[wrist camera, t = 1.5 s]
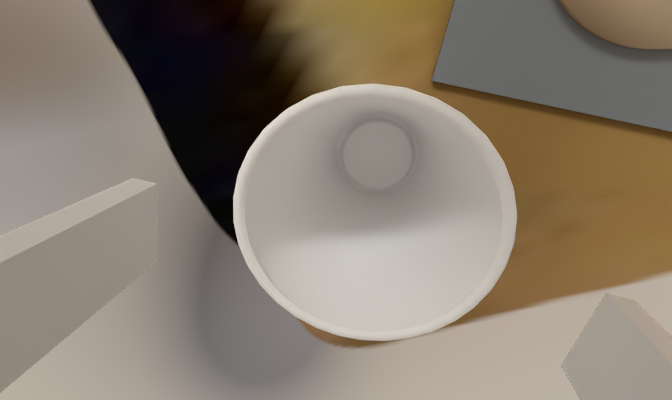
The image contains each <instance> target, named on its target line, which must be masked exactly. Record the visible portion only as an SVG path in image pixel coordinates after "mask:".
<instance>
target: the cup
mask: <svg viewBox="0 0 672 400" xmlns="http://www.w3.org/2000/svg"><path fill="white" fill-rule="evenodd" d="M233 218H234V226H235V231H236V236H237V240H238V245H239V247H240V249H241V252H242V254H243V256H244V259H245V261H246V263H247V266H248V267H249V269H250V270H251V272H252V273H253V275H254V276H255V278H256V279H257V281H258V282H259V284H260V285H261V287H262V288H263V289H264V290H265V291H266V292H267V293H268V294H269V295H270V296H271V297H272V298H273V299H274V300H275V301H276V302H277V303H278V304H279V305H281V306H282V307H283V308H285V309H286V310H287V311H289V312H290V313H291V314H292V315H294V316H295V317H297V318H299V319H301V320H302V321H304V322H306V323H308V324H310V325H312V326H314V327H315V328H318V329H321V330H324V331H327V332H329V333H332V334H335V335H338V336H343V337H348V338H353V339H358V340H372V341H390V340H399V339H408V338H412V337H416V336H419V335H423V334H426V333H430V332H433V331H435V330H437V329H440V328H442V327H444V326H446V325H448V324H450V323H452V322H454V321H456V320H457V319H459V318H460V317H462V316H463V315H464V314H466V313H467V312H469V311H470V310H471V309H473V308H474V307H475V306H476V305H477V304H478V303H479V302H480V301H481V300H482V299H483V298H484V297H485V296H486V295H487V294H488V293H489V292H490V291H491V290H492V288H493V287H494V285H495V284H496V282H497V280H498V279H499V277H500V276H501V274H502V272H503V271H504V269H505V268H506V265H507V262H508V259H509V256H510V254H511V251H512V248H513V245H514V241H515V233H516V224H517V209H516V201H515V193H514V187H513V185H512V182H511V179H510V177H509V174H508V171H507V168H506V166H505V163H504V161H503V159H502V158H501V156H500V155H499V153H498V152H497V150H496V149H495V147H494V146H493V144H492V143H491V141H490V140H489V138H488V137H487V136H486V135H485V134H484V133H483V132H482V131H481V130H480V129H479V128H478V127H477V126H476V125H475V124H474V123H473V122H472V121H471V120H469V119H468V118H467V117H466V116H465V115H464V114H463V113H461V112H459V111H458V110H456V109H454V108H453V107H451V106H449V105H448V104H446V103H444V102H443V101H441V100H439V99H438V98H435V97H432V96H429V95H426V94H424V93H421V92H418V91H415V90H412V89H409V88H406V87H398V86H390V85H382V84H374V83H373V84H361V85H350V86H340V87H337V88H334V89H331V90H327V91H324V92H321V93H317V94H314V95H311V96H309V97H308V98H306V99H304V100H302V101H300V102H298V103H297V104H295V105H293V106H291V107H289V108H288V109H286V110H285V111H284V112H282V113H281V114H280V115H279V116H278V117H277V118H276V119H274V120H273V121H272V122H271V123H270V124H269V125H268V126H266V127H265V128H264V129H263V131H262V132H261V134H260V135H259V136H258V138H257V139H256V140H255V142H254V143H253V144H252V146H251V147H250V149H249V150H248V152H247V154H246V157H245V159H244V161H243V163H242V166H241V168H240V170H239V172H238V176H237V181H236V186H235V191H234V196H233Z"/></svg>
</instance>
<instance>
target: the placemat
mask: <svg viewBox="0 0 672 400" xmlns="http://www.w3.org/2000/svg"><path fill="white" fill-rule="evenodd" d="M431 81H435V82H440V83H444V84H449V85H454V86H459V87H463V88H468V89H473V90H477V91H482V92H487V93H492V94H496V95H501V96H506V97H510V98H515V99H520V100H525V101H529V102H534V103H539V104H543V105H548V106H553V107H557V108H562V109H567V110H572V111H576V112H581V113H586V114H590V115H595V116H600V117H605V118H609V119H614V120H619V121H623V122H628V123H633V124H638V125H642V126H647V127H652V128H656V129H661V130H666V131H670V132H672V49H636V48H628V47H623V46H619V45H616V44H612V43H609V42H606V41H604V40H602V39H600V38H598V37H595V36H593V35H592V34H590V33H589V32H587V31H586V30H585V29H583V28H582V27H580V26H579V25H578V24H577V23H576V22H575V21H574V20H573V19H572V18H571V17H570V16H569V15H568V14H567V13H566V11H565V10H564V9H563V7H562V6H561V5H560V3H559V2H558V0H455V1H454V4H453V7H452V11H451V14H450V18H449V21H448V25H447V28H446V32H445V35H444V39H443V42H442V46H441V49H440V53H439V56H438V60H437V63H436V66H435V70H434V73H433V77H432V80H431Z"/></svg>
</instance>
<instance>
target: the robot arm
mask: <svg viewBox="0 0 672 400" xmlns="http://www.w3.org/2000/svg"><path fill="white" fill-rule="evenodd" d="M157 227H158V226H157V184H156V183H152V182H148V181H144V180H140V179H135V178H132V179H129V180H127V181H125V182H123V183H120V184H118V185H116V186H113V187H111V188H109V189H107V190H104V191H102V192H100V193H97V194H95V195H93V196H90V197H88V198H86V199H83V200H81V201H79V202H77V203H74V204H72V205H70V206H67V207H65V208H63V209H60V210H58V211H56V212H54V213H51V214H49V215H47V216H45V217H42V218H40V219H38V220H35V221H33V222H31V223H29V224H26V225H24V226H21V227H19V228H17V229H15V230H12V231H10V232H7V233H5V234H3V235H1V236H0V392H2V391H3V390H4V389H5V388H6V387H8V386H9V385H10V384H11V383H12V382H14V381H15V380H16V379H17V378H18V377H19V376H21V375H22V374H23V373H24V372H25V371H27V370H28V369H29V368H30V367H31V366H33V365H34V364H35V363H36V362H37V361H39V360H40V359H41V358H42V357H44V356H45V355H46V354H47V353H48V352H49V351H51V350H52V349H53V348H54V347H55V346H57V345H58V344H59V343H60V342H61V341H63V340H64V339H65V338H66V337H67V336H69V335H70V334H71V333H72V332H73V331H75V329H77V328H78V327H79V326H81V325H82V324H83V323H84V322H85V321H86V320H88V319H89V318H90V317H91V316H92V315H94V314H95V313H96V312H97V311H98V310H100V309H101V308H102V307H103V306H104V305H106V303H108V302H109V301H110V300H112V299H113V298H114V297H115V296H116V295H118V294H119V293H120V292H121V291H122V290H124V289H125V288H126V287H127V286H128V285H130V284H131V283H132V282H133V281H134V280H135V279H137V278H138V277H139V276H140V275H141V274H143V273H144V272H145V271H146V270H147V269H148V268H150V267H151V266H152V265H153V264H155V263H156V262H157V261H158V237H157V236H158V233H157V232H158V230H157ZM561 366H562V368H563V370H564V371H565V373H566V375H567V377H568V379H569V380H570V382H571V384H572V386H573V387H574V389H575V391H576V393H577V394H578V396H579V398H580V400H672V336H671V335H670V334H669V333H668V332H666V331H665V330H664V329H663V328H662V327H661V326H660V325H659V324H658V323H657V322H656V321H655V320H654V319H653V318H652V317H651V316H650V315H649V314H648V313H647V312H646V311H645V310H644V309H643V308H642V307H641V306H640V305H638V304H637V303H636V302H635V301H634V300H630V299H626V298H622V297H618V296H614V295H610V294H605V296H604V297H603V299H602V300H601V302H600V304H599V305H598V307H597V309H596V310H595V312H594V313H593V315H592V317H591V319H590V320H589V322H588V323H587V325H586V326H585V328H584V330H583V331H582V333H581V335H580V336H579V338H578V340H577V341H576V343H575V344H574V346H573V348H572V349H571V351H570V352H569V354H568V356H567V357H566V359H565V361H564V362H563V364H562V365H561Z"/></svg>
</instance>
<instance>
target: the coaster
mask: <svg viewBox="0 0 672 400" xmlns="http://www.w3.org/2000/svg"><path fill="white" fill-rule="evenodd" d="M558 2H559V3H560V5H561V6H562V7H563V9H564V10H565V11H566V13H567V14H568V15H569V16H570V17H571V18H572V19H573V20H574V21H575V22H576V23H577V24H578V25H579V26H580V27H582V28H583V29H585V30H586V31H587V32H589V33H590V34H592V35H593V36H595V37H598V38H600V39H602V40H604V41H606V42H609V43H612V44H616V45H619V46H623V47H628V48H636V49H672V0H558Z"/></svg>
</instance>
